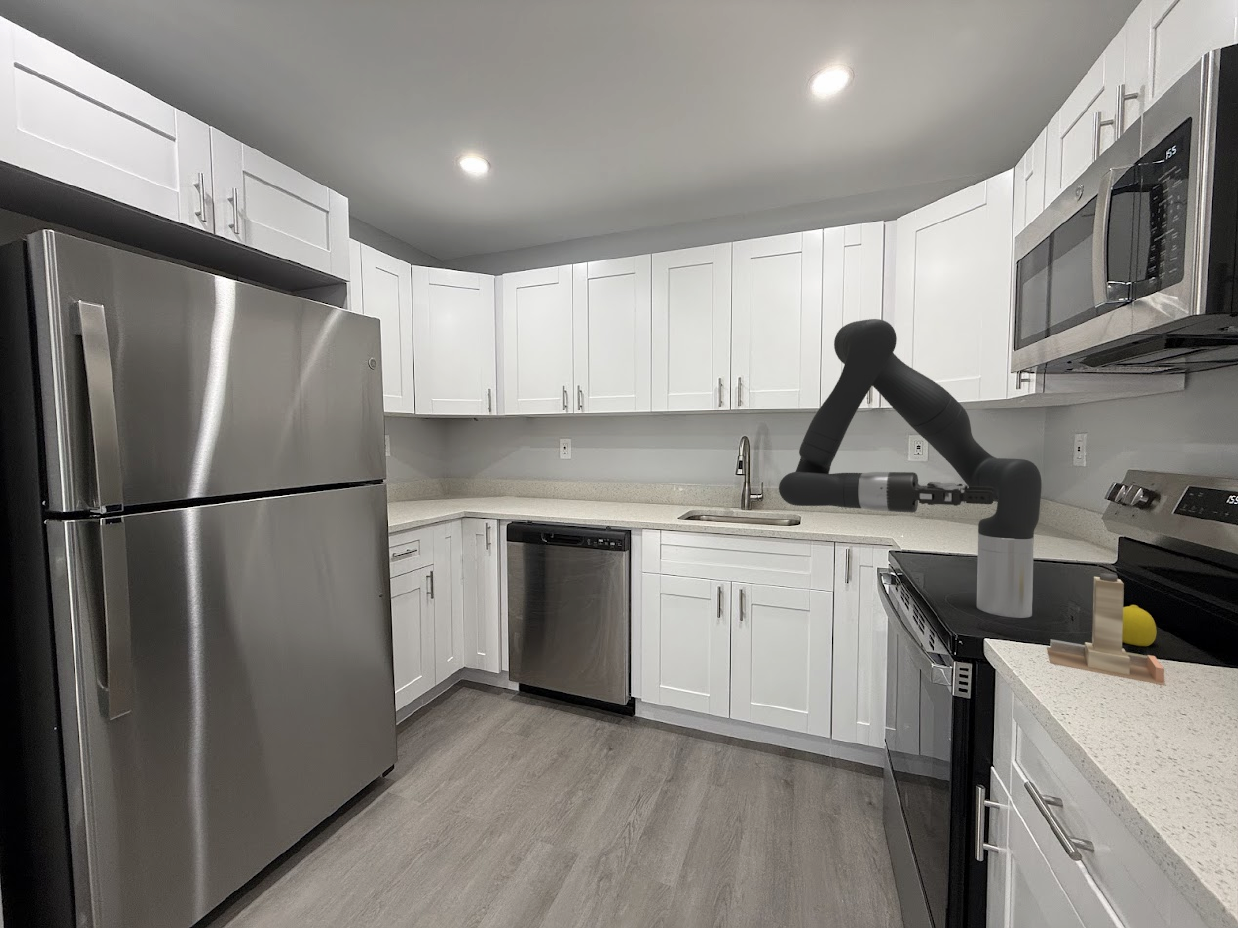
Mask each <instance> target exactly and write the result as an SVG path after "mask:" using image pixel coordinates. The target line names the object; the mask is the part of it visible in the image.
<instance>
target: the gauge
mask: <svg viewBox="0 0 1238 928" xmlns="http://www.w3.org/2000/svg"><path fill="white" fill-rule="evenodd" d="M1124 588H1125V583H1124V582H1123V581H1122V580H1121V579H1119V578H1118V575H1116V574H1112V573H1099V576H1093V592H1092V593H1093V594H1092V596H1093V599H1092V629H1091V631H1092V632H1091V633H1092V634H1091V635H1092V636H1091V642H1084V645H1085V659H1086V662H1087V665H1088V667H1091V668H1096V669H1101V670H1107V671H1112V672H1117V673H1122V674H1127V675H1129V668H1130V658H1129V656H1128V655H1127V653H1126V652H1127V651H1126V650H1125V648H1123V642H1122V631H1123V607H1124V593H1125V592H1124V591H1125V590H1124Z"/></svg>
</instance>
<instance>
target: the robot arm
mask: <svg viewBox="0 0 1238 928" xmlns="http://www.w3.org/2000/svg"><path fill="white" fill-rule="evenodd" d="M896 333H897V332H896V330H895V328H894V327H893V325H892V324H890V323H889V322H888V321H886V320H883V319H878V318H869V319H863V320H856V321H853V322H850V323H847V324H845V325H844V326H842V327H841V328H840V329H839V330H838V331H837V332H836V335H835V337H834V341H833V349H834V352H835V355H836V356H837V358H838V360H839V361H840V362H841V363H842V364H843V369H842V372H841V374H840V376H839V377H838V380H837V381H836V384H835V386H834V387H833V389H832V391H831V392H830V394H829V395H828V396H827V398H826V399H825V401H824V402H823V403H822V405H821V406H820V407H819V409H817V412H816V413H815V414H814V416H813V418H812V420H811V422H810V424H809V425H808V427H807V430H806V432H805V435H804V437H803V440H802V442H801V445H800V447H799V449H798V450H799V451H798V455H799V457H800V459H799V461H798V464H797V466H796V469H795V471H793V472H789V473H788V474H786V475H785V476H784V477H783V478H782V479H781V480H780V482H779V484H778V493H779V495H780V497H781V499H782V500H783V501H784V502H786V503H787V504H789V505H791V506H797V507H798V506H799V507H801V506H802V507H825V506H826V507H830V506H831V507H839V508H844V509H845V508H847V509H848V508H849V509H862V510H863V509H864V510H869V511H877V512H879V511H880V512H893V513H894V512H895V513H909V514H910V513H911V514H912V513H916V512H917V511H918V505H919V504H921V505H925V504H927V505H929V506H939V505H940V506H960V505H961V506H963V505H966V504H974V505H975V504H977V505H992V504H993V503H994V502H995V503H997V505H996V510H995V513H994V514H993V515H991V516H989V517H985V518H982V519H980V520H979V521H978V526H977V565H976V566H977V570H976V572H977V573H976V574H977V576H976V579H977V580H976V608H977V609H978V610H980V611H983V612H984V613H987V614H990V615H995V616H1000V617H1006V618H1013V619H1014V618H1015V619H1020V618H1021V619H1024V618H1030V617H1032V616H1033V592H1034V591H1033V589H1034V588H1033V585H1034V584H1033V583H1034V537H1035V530H1036V527H1037V525H1038V523H1039V519H1040V510H1041V501H1042V500H1041V499H1042V498H1041V497H1042V486H1043V483H1042V476H1041V473H1040V469H1039V468H1038V467H1037V465H1036V464H1035V463H1034V462H1032V461H1030V460H1029V459H1023V458H1002V457H1001V458H1000V457H999V458H998V457H995V456H993V455H992V454H990V453H989V452H987V450H986V449H984V448H983V447H982V446H981V445H980V444H979V443H978V442H977V441H976V440H975V438H974V436H973V433H972V426H971V420H970V417H969V414H968V411H966V409H965V408H964V406H963V405H962V404H961V403H959V401H958V400H956V398H955V397H954V396H952V394H951V393H950V392H949V391H948V390H946V389H945V388H944V387H943V386H941V385H940V384H939V383H938V382H936V381H934V380H933V379H931V378H929V377H928V376H926V375H924V374H922V373H921V372H920V371H918V370H915V369H914V368H912V367H910V366H909V365H907V364H905V362H904V361H902V360H901V359H900V358H899V357H898V356H897V355H896V354H895V353H894V352H895V349H896V347H897V341H898V339H897V334H896ZM872 387H873V389H875V390H876V391H877V392H878V394H880V395H881V397H882V398H883V399H884V400H885V401H886V402H887V403H888V404H889V406H891V407H892V408H893V409H894V411H895V412H897V413H898V415H899V416H901V418H903V420H904V421H905V422H906V423H907V424H908V425H909V426H910V427H911V428H912V429H913V430H914V432H916V433H917V434H919V436H920V437H922V438H923V439H924V440H925V441H926V442H927V443H929V444H930V446H931V447H932V448H933V449H934V450H935V451H936V452H937V453H939V455H941V456H942V458H944V460H946V461H947V462H948V463H949V464H950V465H951V467H952V468H953V469H954V471H956V472H957V474H958V475H959V476H960V478H961V479H962V480H963V482H964V483H965V484H963V483H958V484H957V483H955V482H939V481H929V482H927V484H926V485H921V484H919V477H918V474H917V473H916V472H915V471H914V472H912V471H911V472H910V471H908V472H907V471H906V472H905V471H904V472H903V471H897V472H896V471H887V472H886V471H872V472H871V471H870V472H837V473H836V472H835V473H830V471H831V466H832V462H833V461H834V459H835V457H836V455H837V453H838V451H839V448H840V446H841V444H842V441H843V440H844V438H845V436H846V433H847V430H848V429H849V426H850V424H851V422H852V421H853V419H854V416H856V414H857V412H858V409H859V408H860V406H861V404H862V403H863V400H864V399H865V397H866V396H867V394H868V392H869V391H870V389H871V388H872Z"/></svg>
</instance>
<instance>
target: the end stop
mask: <svg viewBox="0 0 1238 928" xmlns="http://www.w3.org/2000/svg"><path fill="white" fill-rule="evenodd" d="M1146 656H1147V668H1148V670H1149V671H1150V673H1151V674H1152V676H1153V677H1154V679H1155V680H1156V681H1160V682H1164V683H1165V668H1164V667H1163V665H1162V664H1161V662H1160V661H1159V660H1158V658H1157V657H1156V656H1155V655H1150V654H1147V655H1146Z"/></svg>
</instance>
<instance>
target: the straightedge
mask: <svg viewBox="0 0 1238 928" xmlns="http://www.w3.org/2000/svg"><path fill="white" fill-rule="evenodd" d="M1049 646H1050V647H1049V648H1051V650H1052V651H1058V652H1063V653H1069V654H1075V655H1080V656H1085V644H1082V643H1075V642H1068V641H1063V640H1058V639H1052V638H1051V639H1050V645H1049ZM1126 653H1127V655H1128V656H1129V658H1130V665H1135V666H1141V667H1146V668H1147V655H1145V654H1144V655H1143V654H1139V653H1133V652H1128V651H1126Z"/></svg>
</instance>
